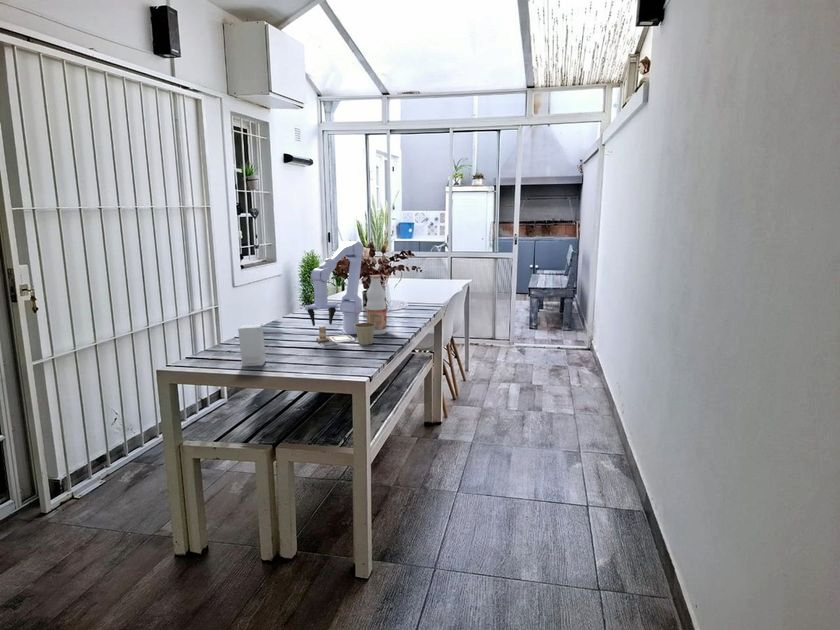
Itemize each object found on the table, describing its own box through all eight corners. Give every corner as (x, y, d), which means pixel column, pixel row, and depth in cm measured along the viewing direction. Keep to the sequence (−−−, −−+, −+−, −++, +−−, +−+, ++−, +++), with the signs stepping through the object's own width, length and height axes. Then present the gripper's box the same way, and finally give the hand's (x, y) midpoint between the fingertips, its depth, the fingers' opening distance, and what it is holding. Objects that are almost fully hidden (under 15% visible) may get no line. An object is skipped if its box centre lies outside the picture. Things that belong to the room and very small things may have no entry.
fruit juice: (363, 332, 276) (362, 275, 271) (380, 329, 281) (379, 273, 276) (373, 335, 269) (371, 277, 263) (390, 333, 274) (389, 275, 268)
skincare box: (266, 361, 227) (263, 323, 224) (262, 366, 221) (259, 327, 218) (245, 362, 227) (242, 324, 224) (240, 366, 220) (237, 327, 217)
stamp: (316, 341, 260) (315, 326, 259) (327, 340, 262) (326, 325, 260) (318, 343, 255) (317, 328, 254) (329, 342, 257) (328, 327, 256)
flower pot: (356, 346, 249) (356, 327, 247) (353, 341, 258) (352, 323, 256) (377, 345, 251) (377, 326, 250) (373, 340, 260) (373, 321, 259)
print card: (328, 337, 265) (328, 336, 265) (349, 335, 269) (349, 334, 269) (334, 343, 255) (334, 341, 255) (355, 341, 259) (355, 339, 259)
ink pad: (320, 345, 252) (320, 342, 252) (335, 343, 255) (335, 340, 255) (323, 348, 246) (323, 345, 246) (338, 346, 249) (338, 344, 249)
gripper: (306, 297, 248) (307, 327, 251) (338, 295, 253) (339, 325, 256) (303, 295, 254) (304, 324, 257) (335, 293, 260) (336, 322, 262)
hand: (322, 324), depth 257 cm, fingers open, 7 cm apart
